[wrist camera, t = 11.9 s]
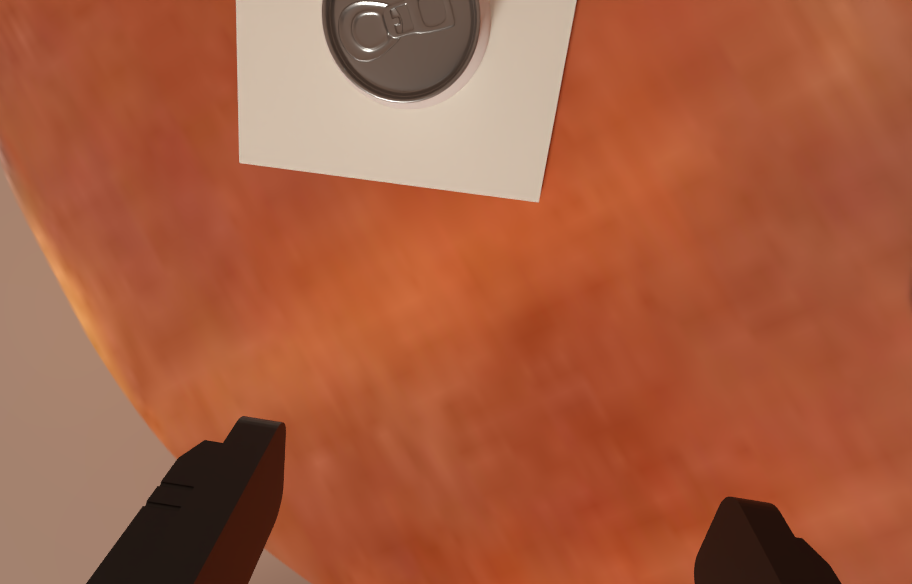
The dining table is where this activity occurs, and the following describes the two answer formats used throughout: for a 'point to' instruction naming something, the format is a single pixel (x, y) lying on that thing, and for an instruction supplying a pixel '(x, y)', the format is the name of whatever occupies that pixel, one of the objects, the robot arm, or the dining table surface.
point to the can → (407, 47)
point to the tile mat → (402, 130)
